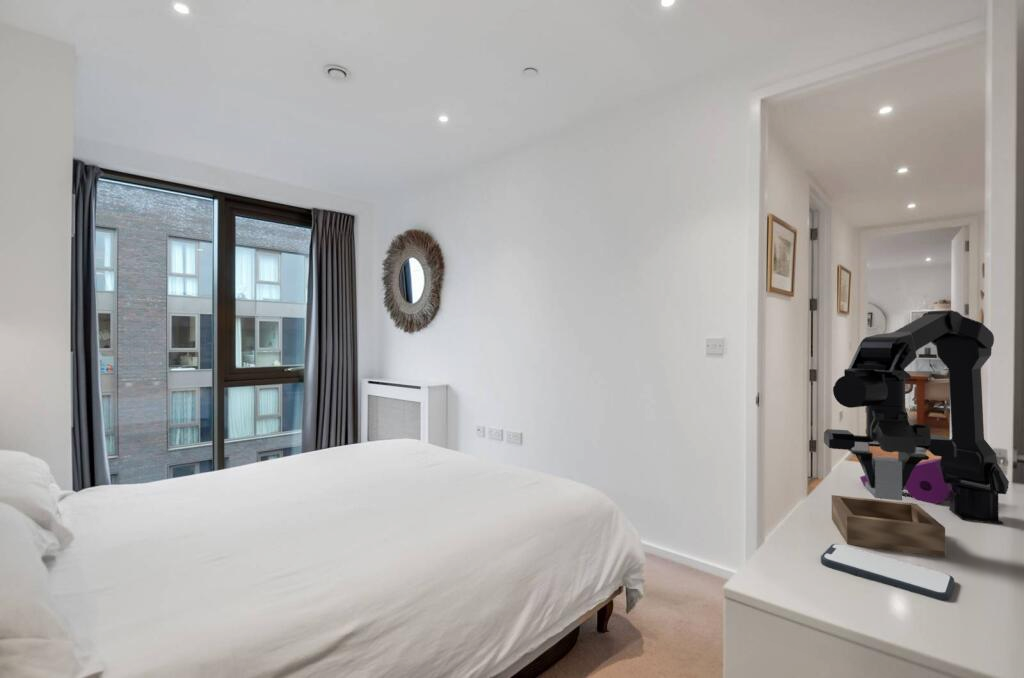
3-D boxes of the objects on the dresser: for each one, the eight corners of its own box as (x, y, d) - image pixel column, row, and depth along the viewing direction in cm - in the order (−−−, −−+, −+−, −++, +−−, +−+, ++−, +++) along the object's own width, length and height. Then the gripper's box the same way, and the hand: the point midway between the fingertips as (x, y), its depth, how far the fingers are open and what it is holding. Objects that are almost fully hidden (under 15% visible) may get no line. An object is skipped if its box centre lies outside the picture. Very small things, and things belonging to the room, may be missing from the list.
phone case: (954, 585, 74) (833, 550, 86) (955, 574, 74) (833, 541, 86) (948, 607, 68) (818, 567, 80) (948, 596, 68) (818, 557, 80)
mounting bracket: (869, 513, 119) (955, 500, 106) (852, 479, 122) (933, 462, 109) (886, 506, 124) (970, 492, 111) (870, 473, 127) (949, 456, 114)
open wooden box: (916, 529, 94) (916, 503, 94) (945, 557, 82) (945, 527, 82) (831, 519, 100) (831, 495, 100) (847, 544, 88) (847, 516, 88)
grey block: (890, 490, 93) (890, 453, 93) (902, 500, 87) (902, 461, 87) (865, 487, 95) (865, 452, 95) (875, 497, 89) (875, 459, 89)
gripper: (835, 407, 86) (836, 496, 86) (971, 413, 78) (972, 509, 78) (822, 400, 96) (823, 479, 96) (942, 404, 89) (942, 489, 89)
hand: (886, 488), depth 90 cm, fingers closed on grey block, 4 cm apart
